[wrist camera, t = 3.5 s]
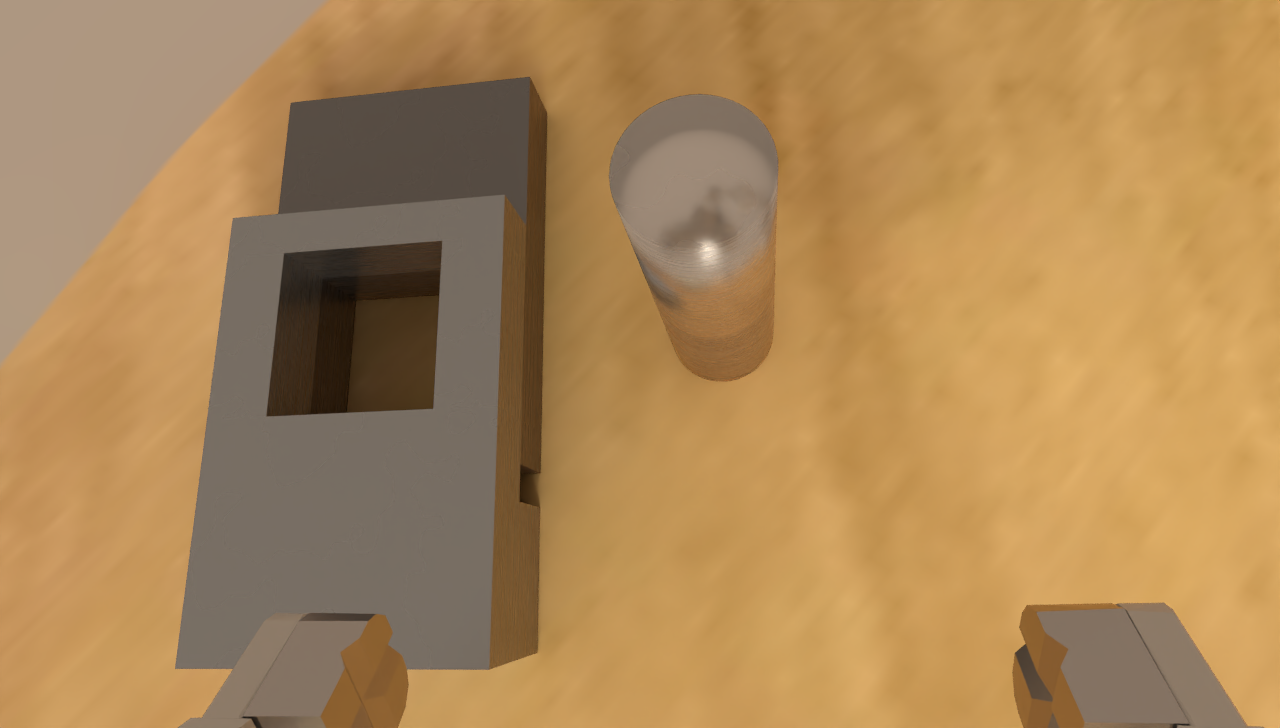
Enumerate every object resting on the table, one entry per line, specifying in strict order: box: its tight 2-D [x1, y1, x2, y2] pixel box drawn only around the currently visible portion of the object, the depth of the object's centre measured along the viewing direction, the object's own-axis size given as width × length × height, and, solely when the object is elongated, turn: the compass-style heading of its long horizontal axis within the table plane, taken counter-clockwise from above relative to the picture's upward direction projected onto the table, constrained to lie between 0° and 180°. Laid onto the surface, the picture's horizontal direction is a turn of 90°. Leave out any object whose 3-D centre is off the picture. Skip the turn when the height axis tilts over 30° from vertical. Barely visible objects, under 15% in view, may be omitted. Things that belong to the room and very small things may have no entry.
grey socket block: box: [175, 77, 547, 670], centre depth 23 cm, size 8×17×4 cm, turn 1°
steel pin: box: [609, 94, 778, 381], centre depth 19 cm, size 3×3×10 cm
